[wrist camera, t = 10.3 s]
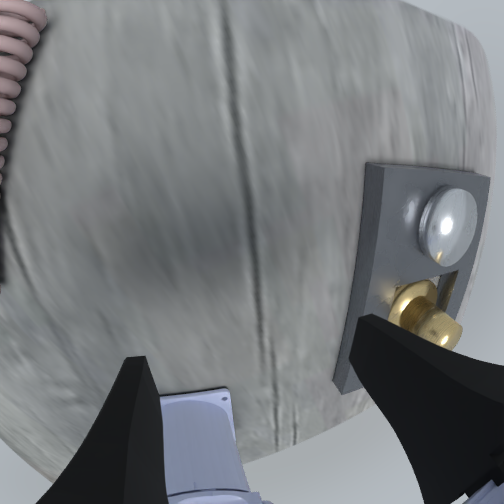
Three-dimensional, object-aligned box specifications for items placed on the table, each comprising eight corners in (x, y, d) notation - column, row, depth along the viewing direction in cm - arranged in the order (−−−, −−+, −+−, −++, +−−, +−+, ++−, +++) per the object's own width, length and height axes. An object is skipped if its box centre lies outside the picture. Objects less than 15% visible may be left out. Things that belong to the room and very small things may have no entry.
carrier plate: (431, 342, 29) (449, 359, 26) (332, 381, 26) (348, 406, 23) (474, 172, 21) (502, 181, 18) (365, 162, 18) (400, 171, 15)
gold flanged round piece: (420, 324, 27) (457, 358, 21) (373, 342, 25) (410, 384, 20) (435, 269, 24) (481, 301, 18) (386, 282, 23) (435, 323, 17)
